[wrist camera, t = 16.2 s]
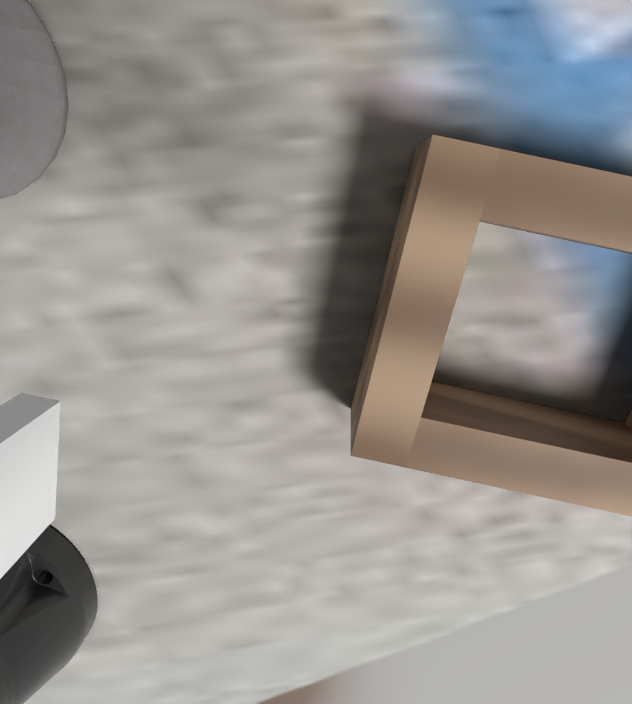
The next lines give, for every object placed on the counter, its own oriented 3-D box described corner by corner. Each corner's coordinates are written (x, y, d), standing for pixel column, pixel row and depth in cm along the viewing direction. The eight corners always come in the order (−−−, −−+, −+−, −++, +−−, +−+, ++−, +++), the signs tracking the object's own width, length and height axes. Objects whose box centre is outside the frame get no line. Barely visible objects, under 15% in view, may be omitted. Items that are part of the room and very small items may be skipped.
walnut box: (651, 473, 31) (718, 535, 25) (350, 409, 31) (350, 455, 26) (773, 224, 26) (890, 231, 20) (415, 148, 26) (432, 134, 21)
